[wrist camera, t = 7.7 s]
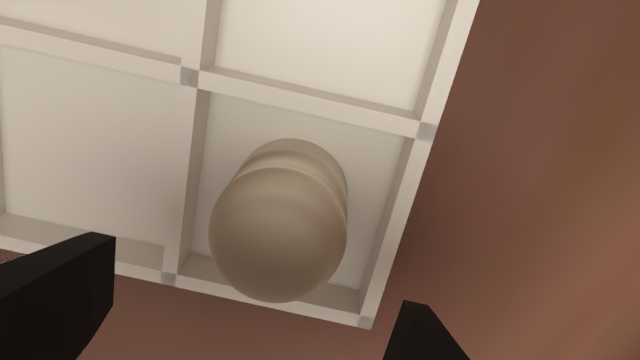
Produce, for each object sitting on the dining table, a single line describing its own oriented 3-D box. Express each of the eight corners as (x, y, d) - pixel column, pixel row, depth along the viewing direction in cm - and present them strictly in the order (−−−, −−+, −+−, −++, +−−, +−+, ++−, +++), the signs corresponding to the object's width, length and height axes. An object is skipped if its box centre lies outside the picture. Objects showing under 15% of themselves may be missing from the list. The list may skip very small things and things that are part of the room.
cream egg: (333, 250, 17) (327, 348, 12) (230, 228, 17) (179, 317, 12) (359, 152, 16) (364, 216, 11) (245, 127, 16) (195, 178, 11)
